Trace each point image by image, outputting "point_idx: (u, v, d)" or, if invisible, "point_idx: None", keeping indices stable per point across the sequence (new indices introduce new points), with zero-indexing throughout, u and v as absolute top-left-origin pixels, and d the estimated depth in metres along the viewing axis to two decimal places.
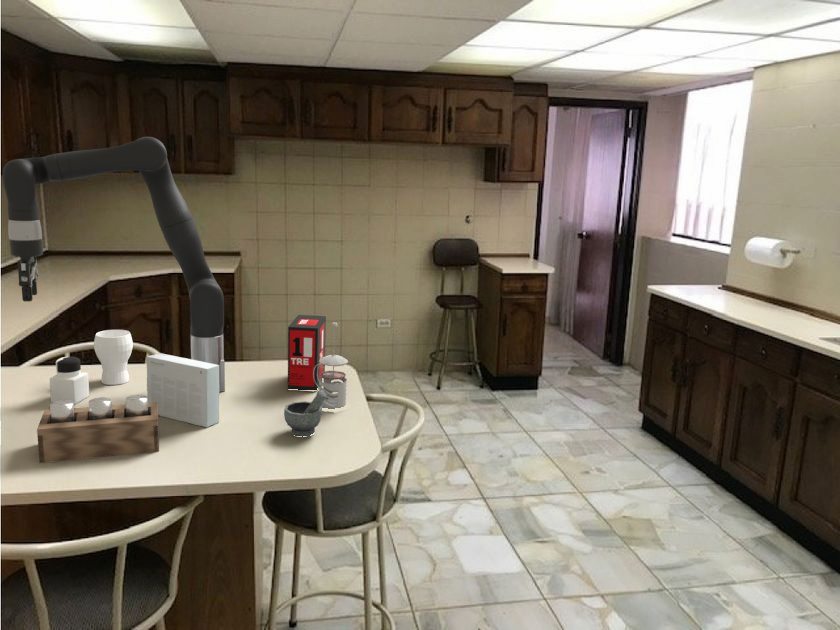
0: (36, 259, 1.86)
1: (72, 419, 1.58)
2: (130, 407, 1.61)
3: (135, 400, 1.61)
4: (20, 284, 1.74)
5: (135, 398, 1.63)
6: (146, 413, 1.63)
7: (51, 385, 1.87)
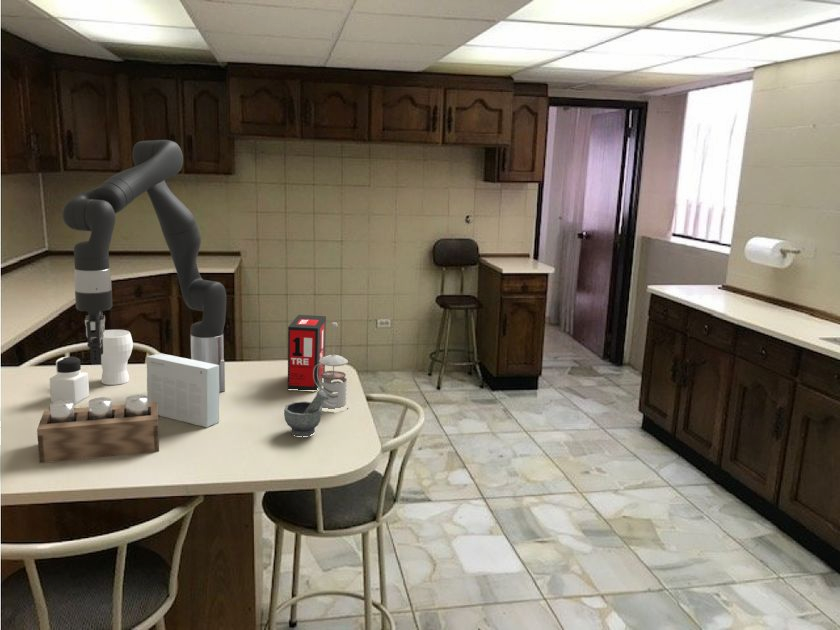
0: (102, 313, 1.62)
1: (72, 419, 1.58)
2: (130, 407, 1.61)
3: (135, 400, 1.61)
4: (89, 345, 1.50)
5: (135, 398, 1.63)
6: (146, 413, 1.63)
7: (51, 385, 1.87)
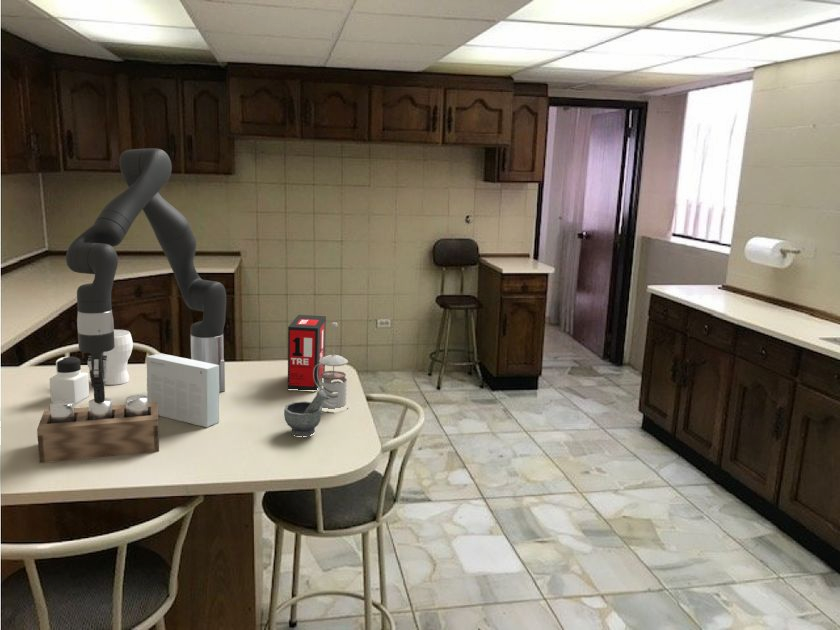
0: None
1: (72, 419, 1.58)
2: (130, 407, 1.61)
3: (135, 400, 1.61)
4: (93, 386, 1.56)
5: (135, 398, 1.63)
6: (146, 413, 1.63)
7: (51, 385, 1.87)
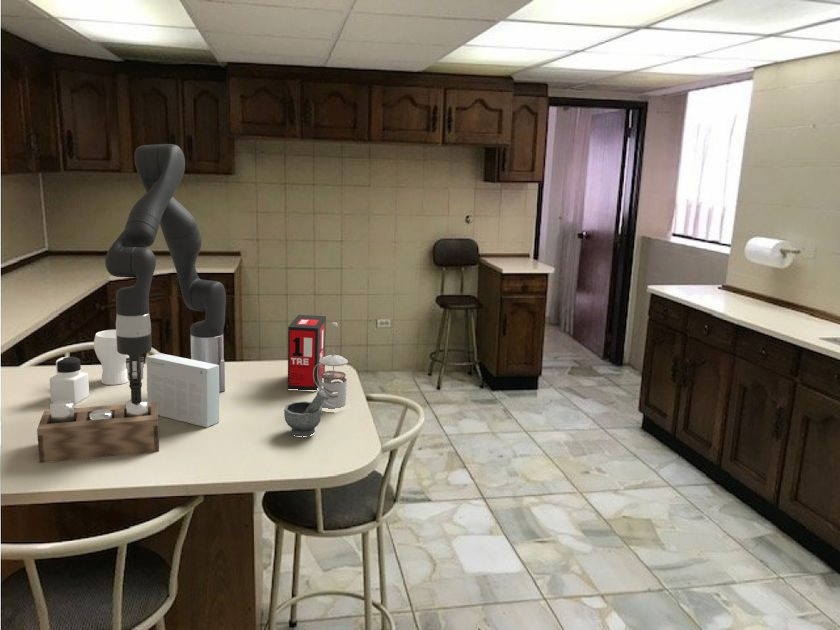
0: None
1: (72, 419, 1.58)
2: (130, 411, 1.61)
3: (135, 404, 1.62)
4: (131, 388, 1.59)
5: None
6: None
7: (51, 385, 1.87)
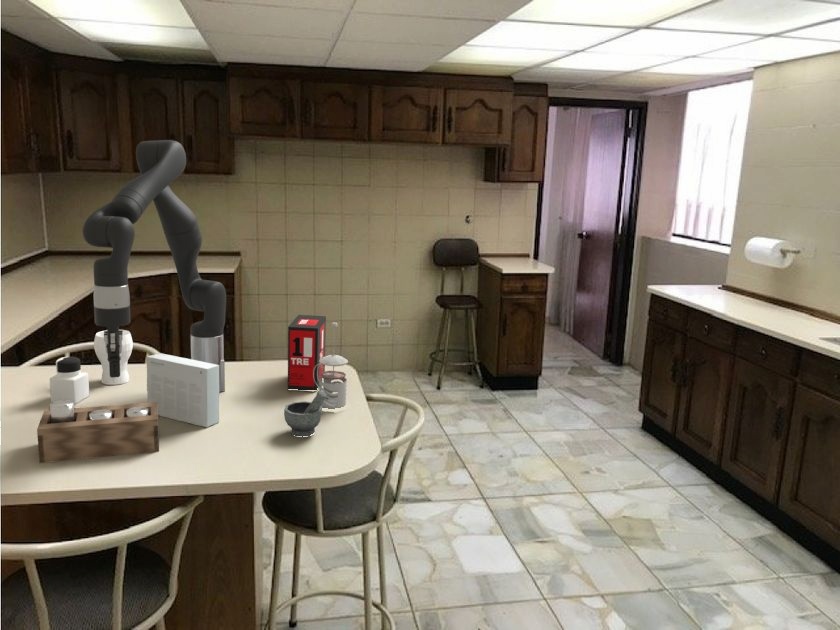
0: None
1: (72, 419, 1.58)
2: None
3: (136, 412, 1.62)
4: (109, 361, 1.55)
5: (135, 410, 1.63)
6: None
7: (51, 385, 1.87)
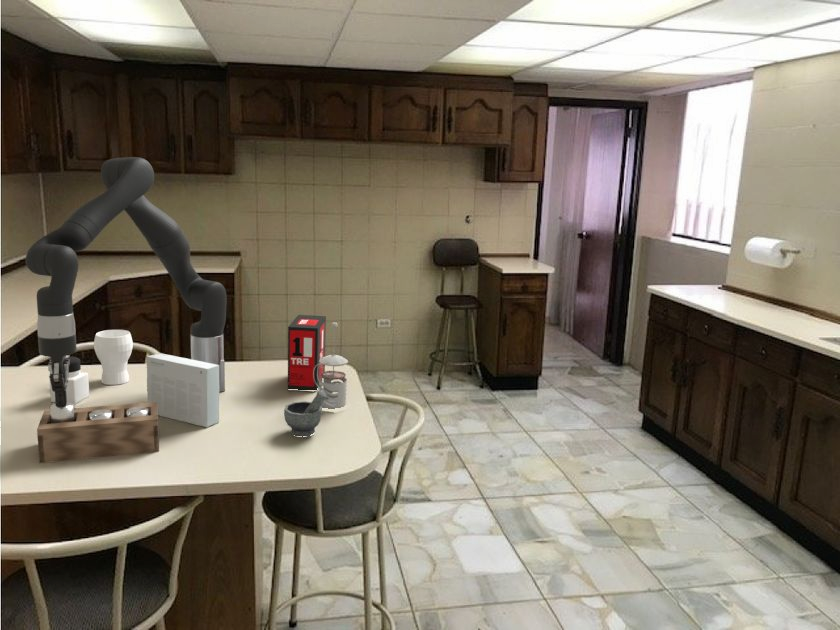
0: None
1: (72, 421, 1.58)
2: None
3: (136, 412, 1.62)
4: (54, 391, 1.53)
5: (135, 410, 1.63)
6: None
7: None
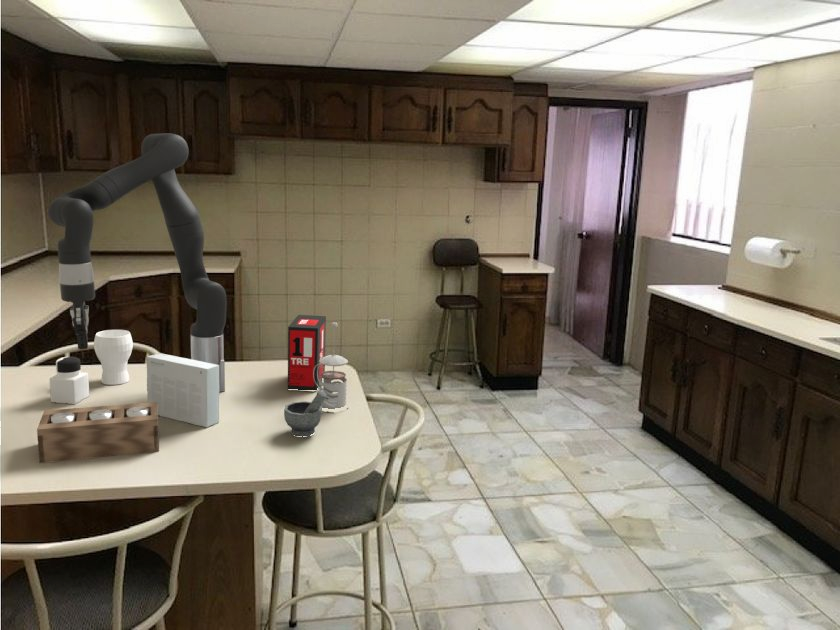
0: None
1: None
2: None
3: (136, 412, 1.62)
4: (76, 334, 1.67)
5: (135, 410, 1.63)
6: None
7: (51, 385, 1.87)
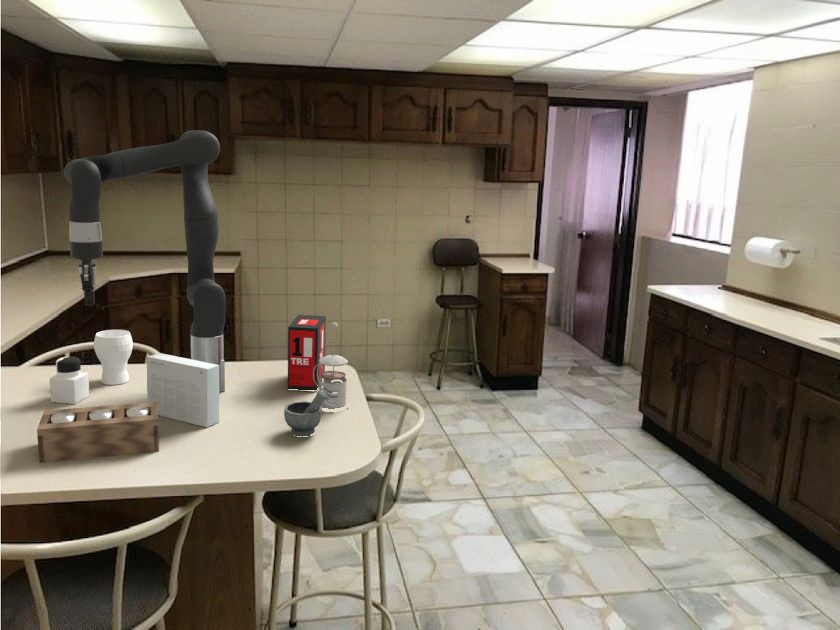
0: None
1: None
2: None
3: (136, 412, 1.62)
4: (84, 290, 1.75)
5: (135, 410, 1.63)
6: None
7: (51, 385, 1.87)
